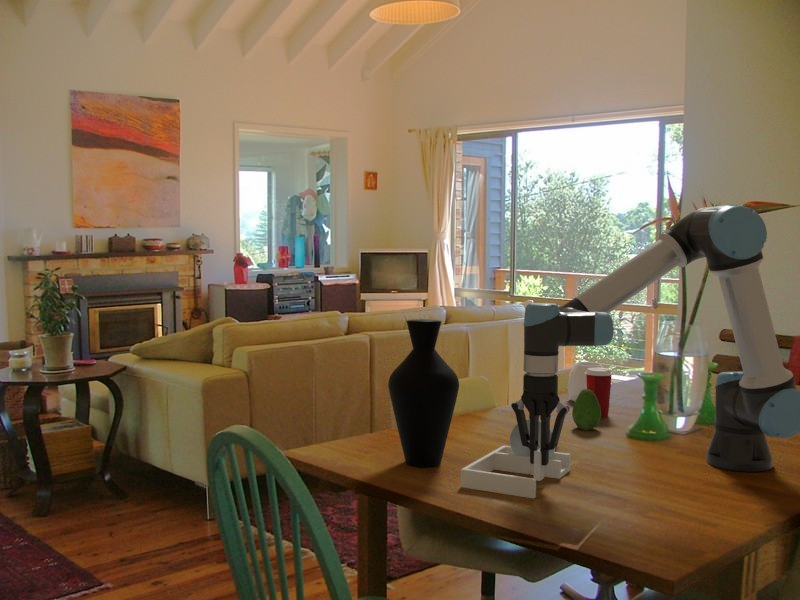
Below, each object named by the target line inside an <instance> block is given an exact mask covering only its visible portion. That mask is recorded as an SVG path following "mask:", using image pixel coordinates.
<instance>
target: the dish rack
mask: <svg viewBox="0 0 800 600" xmlns="http://www.w3.org/2000/svg"><path fill="white" fill-rule="evenodd" d="M495 470H497V471H501V472H502V471H503V472H509V473H515V474H516V473H517V474H522V475H529V474H530V475H532V476H534V464H531V463H530V456H522V455H515V454H514V453H513V451H512V449H511V445H502V446H500V447H498V448H496V449H494V450H493V451H491V452H489V453H487V454H486V455H484V456H482V457H480V458H478V459H477V460H475V461H473V462H471V463H470V464H468V465H466V466H465V467H462V468H461V469H460V488H463V489H469V490H477V491H483V492H490V493H497V494H503V495H508V496H515V497H521V498H522V497H523V498H528V499H536V498H537V480H536V479H534V477H525V476H520V475H511V474H507V473H506V474H504V473H499V472H498V473H497V472H493V471H495ZM570 471H571V453H566V452H559V451H555V452H554V454H553V456H552V457H551V458H550V459H549V462H548V464H547V465H546V466H544V478H552V479H558V480H560V479H562V477H564V476H565V475H567V474H568V473H569V472H570Z"/></svg>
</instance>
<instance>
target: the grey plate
mask: <svg viewBox="0 0 800 600" xmlns="http://www.w3.org/2000/svg"><path fill="white" fill-rule="evenodd" d="M526 422H527V427H528V431H529V436H530V419H529V418H526ZM512 428H513V429H512V431H511V433H510V435H509V443H510V445H509V446H511V449H512V451H513V453H514V454H515V455H522V456H530V449H529V448H528V447H526V446H523V445H522V442H521V438H520V433H519V428H518V423H517V424H516V425H515V426H514V427H512ZM551 435H552V430H551V428H550V439H551ZM538 445H539V447H537V449H538V448H539V449H541V420H540V419H539V433H538ZM554 452H556V448H554V449H553V450H549V459H550V458H551V457H552V456H553V454H554Z"/></svg>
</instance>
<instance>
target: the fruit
mask: <svg viewBox="0 0 800 600" xmlns="http://www.w3.org/2000/svg"><path fill="white" fill-rule="evenodd" d="M571 415H572V420H573V422H574V424H575V425H576V427H577V428H578V429H579V430H583V431H591V430H593V429H595V428H596V427H597V425H598V424H599V423H600V420H601V419H602V418H601V409H600V405H599V402H598V400H597V398H596V395H595V394H594V393H593V392H592V391H591V390H589V389H584V390H582V391H581V392H580V393H579V395H578V397H577V399H576V401H575V402H574V404H573V406H572V414H571Z"/></svg>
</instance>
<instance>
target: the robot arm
mask: <svg viewBox="0 0 800 600" xmlns="http://www.w3.org/2000/svg"><path fill="white" fill-rule="evenodd" d="M767 235H768V231H767V227H766V224H765V221H764V220H763V218H762V216H761V215H760V214H759V213H758V212H757V211H756V210H755V209H752V208H750V207H747V206H745V205H739V204H738V205H737V204H727V205H717V206H705V207H701V208H699V209H696V210H694V211H691V212H690V213H689V214H687V215H685V216H684V217H683V218H680V219H679V220H678V221H677V222H676V223H674V224H673V225H671V226H670V227H668V228H666V230H664V231H662V232H661V233H660V234H659V235H658V240H657V241H655V242H654V243H653V244H651V245H649V246H648V247H647V248H645V249H644V250H643V251H641V252H639V253H638V254H636V255H635V256H634V257H632V258H631V259H629V260H627V262H625V263H624V264H621V266H619V267H618V268H616V269H615V270H613V271H611V273H609V274H608V275H606V276H605V277H603V278H601V279H600V280H598V281H597V282H596V283H595V284H593V285H591V286H590V287H589V288H587V289H585V290H584V291H583V292H581V293H580V294H578V295H577V296H575V297H574V298H573V299H571V300H570V301H568V302H566V303H565V304H563V305H559V304H558V303H553V302H552V303H551V302H531V303H528V304H527V305H526V306H525V307H524V308H525V309H524V317H523V318H524V319H523V371H524V374H523V376H522V377H523V379H522V384H523V385H522V386H523V387H522V390H523V393H522V395H521V396H520V399H519V400H516V401H514V402H513V403H511V404H510V406H511V409H512V411H513V413H514V415H515V418H516V423H517V424H518V428H519V433H520V438H521V442H522V445H523V446H526V447H528V448H529V449H530V463H531V464H534V475H533V478H534V479H536V482H541V481H542V480H544V479H545V477H544V466H546V465H547V464H548V462H549V450H553V449H554V448H555V449H556V448H557V447H558V445H559V440H560V437H561V434H562V433H561V432H562V429H563V426H564V423H565V418H566V416H567V415H568V413H569V412H570V409H571V408H570V407H569V406H568V405H566V406H565V405H564V404H563V403H562V402H561V401H560V400H561V399H560V397H559V395H558V394H559V393H558V392H559V376H558V375H557V373H558V372H559V354H560V353H559V347H595V348H596V347H598V346H601V347H602V346H607V345H609V344H610V343H611V342H612V339H613V337H614V326H615V325H614V321H613V318H612V316H611V315H610V313H612V311H614V310H615V309H617V308H618V307H620V306H621V305H623V304H624V303H626V302H627V301H629V300H630V299H631V298H633V297H635V296H636V295H638V294H639V293H640V292H642V291H643V290H645V289H646V288H647V287H649V286H650V285H652V284H654V283H655V282H657V281H658V280H660V279H661V278H662V277H663V276H665V275H667V274H668V273H670V272H671V271H673V270H674V269H675V268H677V267H679V268H685V267H686V266H688V265H689V264H690V263H692V262H694V261H697V260H698V259H699V260H700V259H703V258H705V259H706V263H707V266H708V271H709V272H710V273H712V274H714V275H716V276H717V278H718V280H719V285H720V289H721V292H722V296H723V299H724V303H725V307H726V311H727V315H728V318H729V322H730V326H731V330H732V333H733V337H734V342H735V345H736V346H735V347H736V349H737V352H738V357H739V361H740V364H741V368H742V371H721V372H719V373H718V374H717V376H716V379H715V386H714V388H715V401H714V403H715V406H714V409H715V410H714V432H713V434H712V438H711V440H710V443H709V444H708V448H707V449H706V457H705V459H706V463H707V464H708V465H711V466H713V467H716V468H718V469H723V470H728V471H733V472H734V471H736V472H744V473H745V472H746V473H748V472H749V473H751V472H753V473H754V472H755V473H756V472H757V473H758V472H765V471H770V470H772V468H773V456H772V451H771V449H770V446H769V443H768V440H767V436H769V437H771V438H772V437H773V438H778V439H790V438H792V437H794V436H797V435H798V434H799V433H800V389H797V385H796V380H795V377H794V374H793V372H792V371H791V370H790V369H787V368H786V367H784V363H783V360H782V355H781V352H780V348H779V344H778V340H777V336H776V332H775V328H774V325H773V321H772V317H771V313H770V309H769V308H770V307H769V305H768V301H767V297H766V294H765V293H766V292H765V289H764V286H763V281H762V278H761V274H760V269H759V266H760V265H761V264H762V262H763V260H764V256H763V251H762V250H763V249H764V246H765V245H764V244H765V243H766V242H767V238H768V237H767ZM524 408H525V409H526V410H527V412H528V413H529V414H528V419H530V436H529V431H528V427H527V422H526V419H527V418H526V413H525V409H524ZM555 409H556V413H557V415H556V417H555V421H554V424H553V428H552V429H553V432H552V435H551V439H550V429H551V416H552V415H551V414H553V412H554V410H555ZM539 420H540V421H541V449H539V448H538V449H537V447H539V445H538V433H539Z"/></svg>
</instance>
